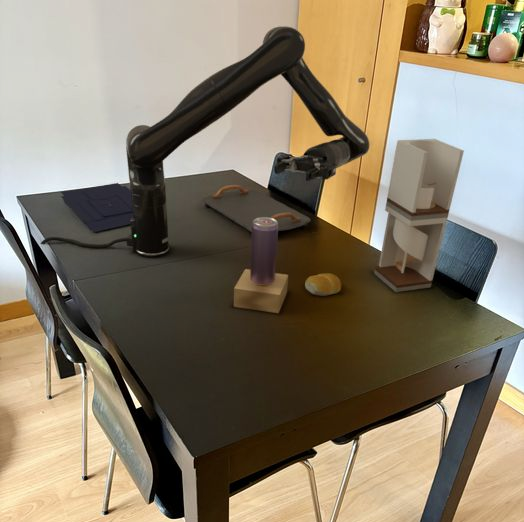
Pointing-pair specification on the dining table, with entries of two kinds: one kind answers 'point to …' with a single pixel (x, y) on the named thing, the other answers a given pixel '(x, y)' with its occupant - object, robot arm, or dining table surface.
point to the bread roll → (323, 284)
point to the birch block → (260, 293)
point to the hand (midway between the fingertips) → (291, 172)
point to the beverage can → (263, 250)
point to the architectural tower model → (417, 211)
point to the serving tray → (254, 208)
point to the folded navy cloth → (101, 205)
